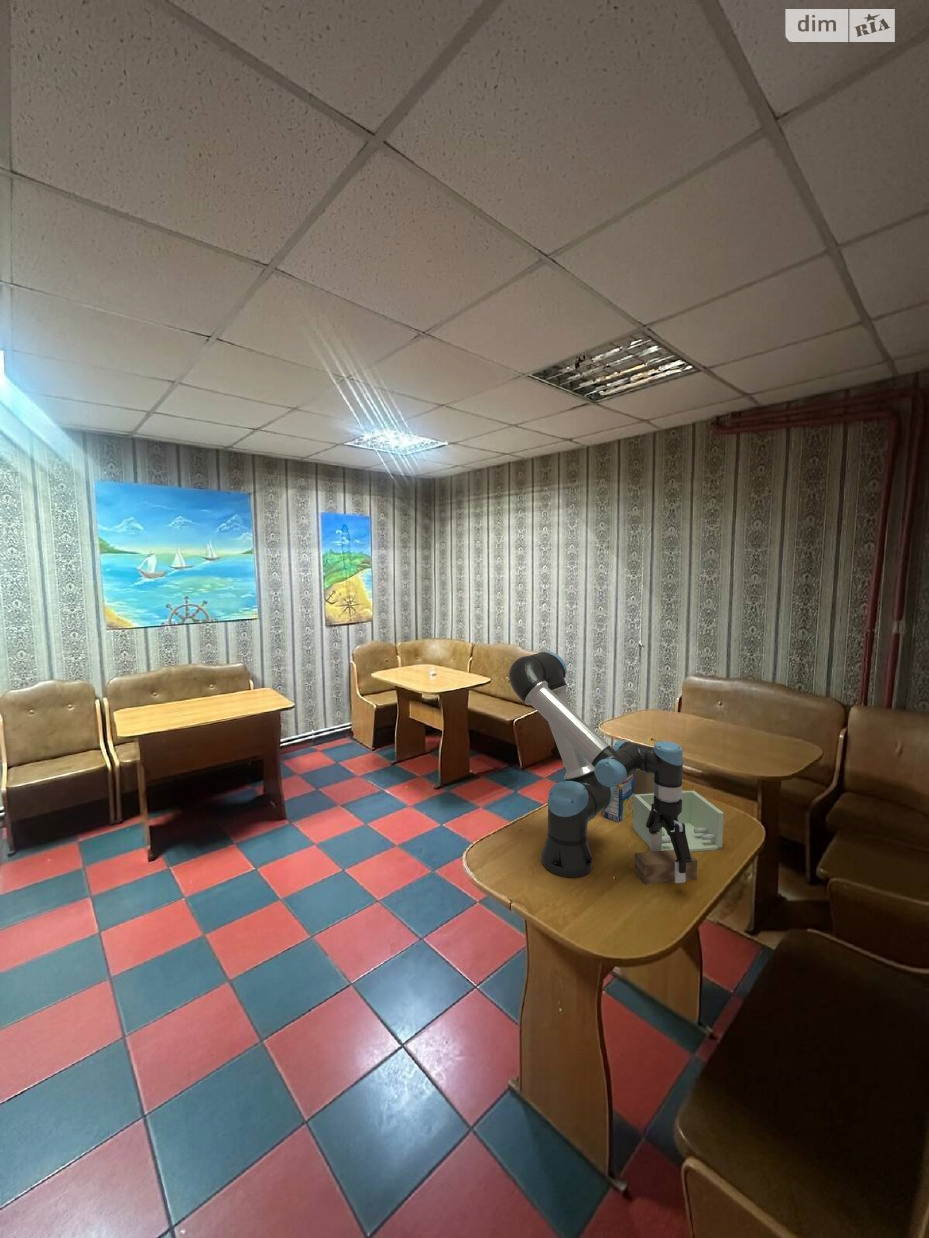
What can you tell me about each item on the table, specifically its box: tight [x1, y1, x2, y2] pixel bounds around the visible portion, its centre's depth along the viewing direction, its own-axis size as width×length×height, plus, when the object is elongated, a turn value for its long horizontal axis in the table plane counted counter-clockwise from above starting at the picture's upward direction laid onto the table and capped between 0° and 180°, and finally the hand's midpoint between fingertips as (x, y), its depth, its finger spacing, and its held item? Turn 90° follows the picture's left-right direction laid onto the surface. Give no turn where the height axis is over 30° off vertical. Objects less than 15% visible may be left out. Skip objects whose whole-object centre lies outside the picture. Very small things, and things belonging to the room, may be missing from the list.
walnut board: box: [633, 850, 698, 886], centre depth 143 cm, size 16×6×6 cm, turn 98°
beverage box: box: [600, 774, 634, 824], centre depth 178 cm, size 7×11×22 cm, turn 134°
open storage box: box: [632, 790, 725, 853], centre depth 163 cm, size 22×16×12 cm
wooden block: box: [634, 771, 654, 795], centre depth 187 cm, size 10×10×20 cm
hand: (666, 867), depth 143 cm, fingers open, 13 cm apart
